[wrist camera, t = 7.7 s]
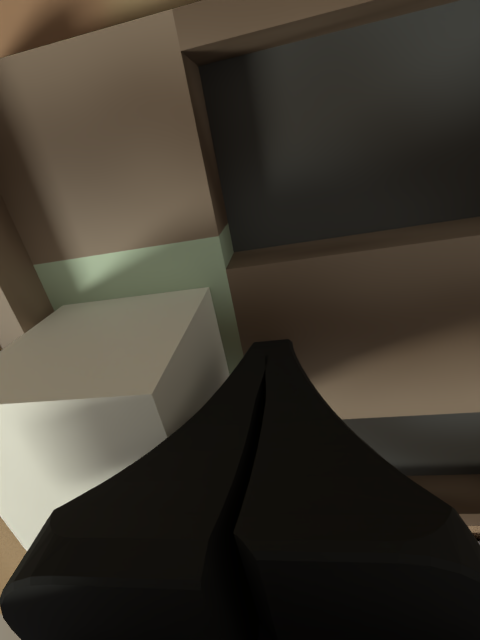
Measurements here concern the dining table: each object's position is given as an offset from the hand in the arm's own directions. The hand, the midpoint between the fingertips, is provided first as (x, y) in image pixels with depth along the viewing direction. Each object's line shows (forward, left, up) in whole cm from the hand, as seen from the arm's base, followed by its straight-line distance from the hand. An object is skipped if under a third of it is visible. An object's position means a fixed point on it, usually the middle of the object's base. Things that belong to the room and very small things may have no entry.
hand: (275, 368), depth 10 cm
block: (0, +4, -1) cm, 4 cm away
